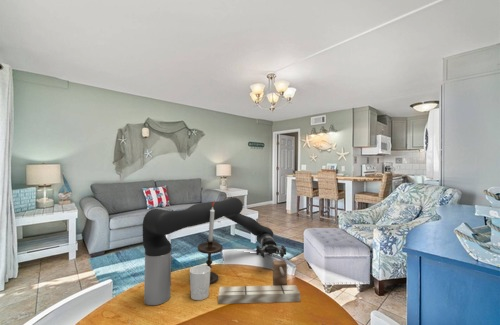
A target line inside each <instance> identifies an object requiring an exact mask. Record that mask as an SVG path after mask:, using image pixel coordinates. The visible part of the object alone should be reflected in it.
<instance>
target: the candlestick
mask: <svg viewBox="0 0 500 325" xmlns="http://www.w3.org/2000/svg"><path fill="white" fill-rule="evenodd" d="M212 202H213V204H212V209H211V210H210V222H208V223H209V226H208V239H206V240H205V242H201V243H199V244H198V245H197V251H198V252H199V253H201V254H207V260H206V261H205V264H206V266H209V267H210V270H212V266H211V265H212V263H213V260H212V254H218V253H220V252H222V250H223V245H222V244H221V243H219V242H216V239H214V224H215V220H214V211H215V210H214V209H213V206H214V203H215V202H216V201H215V200H214V201H212ZM218 281H219V274H218V273H216V272H214V271H210V285H213V284H215V283H217V282H218Z"/></svg>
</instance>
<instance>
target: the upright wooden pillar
mask: <svg viewBox="0 0 500 325" xmlns="http://www.w3.org/2000/svg"><path fill="white" fill-rule="evenodd" d="M287 264H288V263H287V261H286V259H284V260H280V259H279V260H272V286H280V285H288V265H287Z"/></svg>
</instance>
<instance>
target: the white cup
mask: <svg viewBox="0 0 500 325" xmlns="http://www.w3.org/2000/svg"><path fill="white" fill-rule="evenodd" d="M210 272H211V269H210V267H209V266H207V264H206V265H204V264H199V265H195V266H193V267H190V268H189V284H190V285H189V287H190V299H192V300H194V301H202V300H205V299H206V298H208V297H209V294H210V285H211V284H210Z"/></svg>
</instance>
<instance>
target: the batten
mask: <svg viewBox="0 0 500 325" xmlns="http://www.w3.org/2000/svg"><path fill="white" fill-rule="evenodd" d="M217 295H218V296H217V297H218V298H217V302H218V305H225V304H226V305H227V304H228V305H229V304H258V303H259V304H261V303H262V304H263V303H267V304H268V303H270V304H271V303H297V302H299V303H300V302H301V292H300V290H299V288H298V286H297V285H296V284H293V285H292V284H291V285H289V284H287V285H280V286H273V285H252V286H251V285H244V286H241V285H238V286H219V290H218V294H217Z"/></svg>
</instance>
